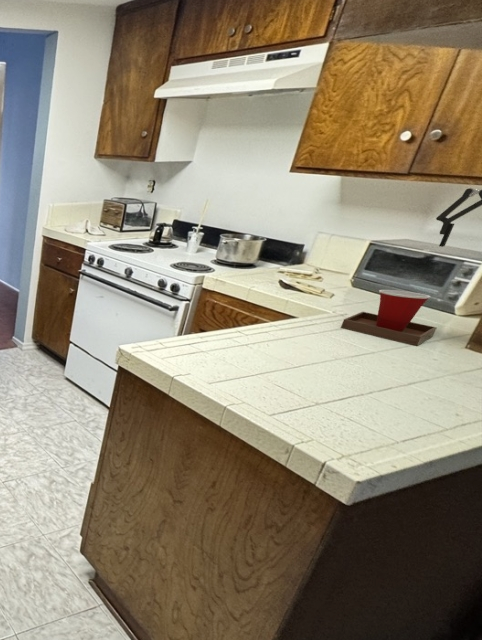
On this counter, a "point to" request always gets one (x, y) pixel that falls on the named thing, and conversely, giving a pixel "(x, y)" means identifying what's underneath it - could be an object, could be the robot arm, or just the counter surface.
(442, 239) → the robot arm
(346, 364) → the counter surface
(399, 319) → the plastic cup
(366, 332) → the tray
